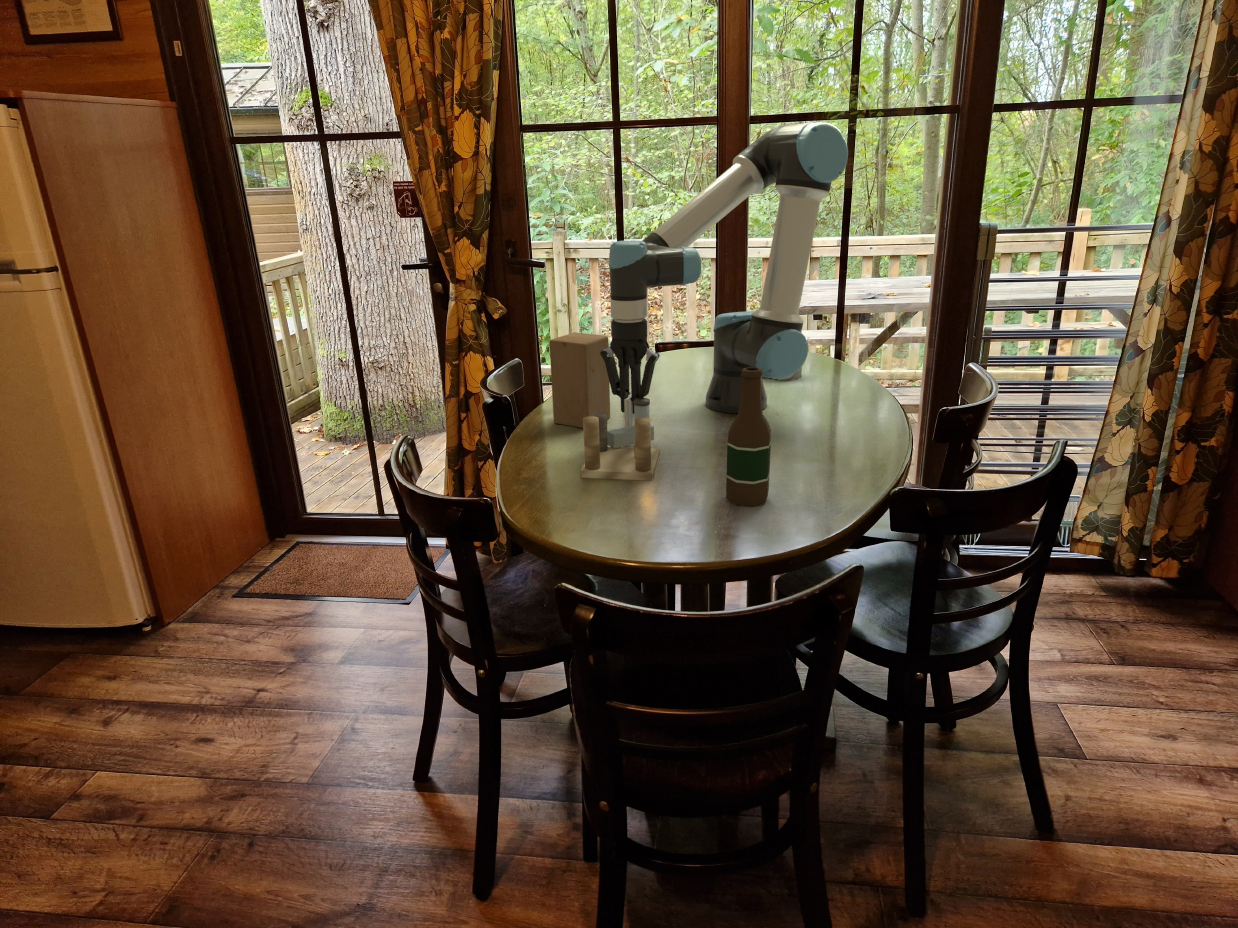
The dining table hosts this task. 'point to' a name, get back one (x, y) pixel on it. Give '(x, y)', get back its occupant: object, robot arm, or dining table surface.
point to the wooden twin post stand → (618, 452)
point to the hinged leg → (630, 426)
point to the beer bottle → (749, 446)
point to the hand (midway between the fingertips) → (630, 426)
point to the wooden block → (579, 378)
